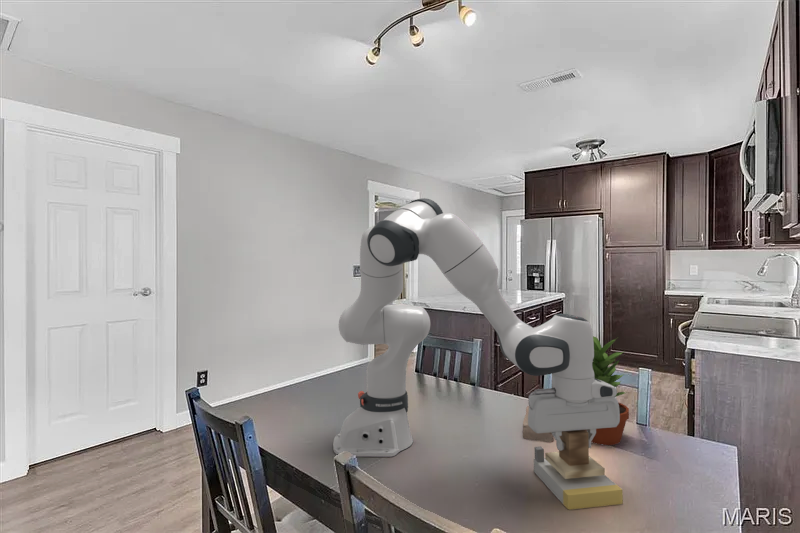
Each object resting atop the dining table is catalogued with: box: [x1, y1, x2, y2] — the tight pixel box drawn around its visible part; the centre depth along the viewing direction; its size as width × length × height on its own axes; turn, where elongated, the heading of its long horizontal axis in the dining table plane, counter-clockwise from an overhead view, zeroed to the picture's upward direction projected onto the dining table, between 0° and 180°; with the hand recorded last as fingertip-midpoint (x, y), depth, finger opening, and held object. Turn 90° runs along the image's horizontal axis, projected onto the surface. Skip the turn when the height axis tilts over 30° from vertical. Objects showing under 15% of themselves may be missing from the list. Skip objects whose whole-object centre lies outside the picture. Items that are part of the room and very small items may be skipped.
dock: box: [533, 446, 624, 511], centre depth 96 cm, size 12×16×6 cm
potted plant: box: [586, 335, 630, 446], centre depth 121 cm, size 15×15×30 cm
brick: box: [522, 405, 554, 443], centre depth 127 cm, size 17×8×5 cm, turn 159°
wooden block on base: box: [544, 430, 606, 479], centre depth 96 cm, size 9×9×8 cm
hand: (573, 448), depth 96 cm, fingers closed on wooden block on base, 4 cm apart
